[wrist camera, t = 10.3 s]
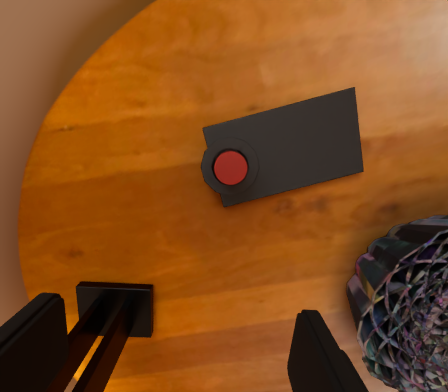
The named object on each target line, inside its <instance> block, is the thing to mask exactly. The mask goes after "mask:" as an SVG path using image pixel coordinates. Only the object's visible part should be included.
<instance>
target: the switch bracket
mask: <svg viewBox="0 0 448 392" xmlns="http://www.w3.org/2000/svg"><path fill="white" fill-rule="evenodd" d="M76 294H77V304H78V314H79V321H78V322H77V324H76V325H75V326H74V327H73V329H72V330H71V331H70V333H69V334H68V344H69V356H68V359H67V361H66V363H65V365H64V366H63V367H62V369H61V370H60V372H59V373H58V375H57V376H56V377H55V379H54V380H53V382H52V383H51V385H50V386H49V387H48V389H47V390H46V392H64V390H65V389H66V387H67V386H68V384H69V382H70V381H71V379H72V377H73V376H74V374H75V373H76V371H77V369H78V368H79V366H80V364H81V363H82V361H83V360H84V358H85V356H86V355H87V353H88V351H89V350H90V348H91V347H92V345H93V343H94V342H95V340H96V338H97V337H98V336H104V337H103V339H102V341H101V342H100V344H99V346H98V348H97V349H96V351H95V353H94V354H93V356H92V358H91V360H90V361H89V363H88V365H87V366H86V368H85V370H84V372H83V373H82V375H81V377H80V378H79V380H78V382H77V384H76V385H75V387H74V389H73V390H72V392H103V391H104V389H105V387H106V385H107V383H108V380H109V378H110V376H111V374H112V372H113V369H114V367H115V365H116V363H117V361H118V359H119V356H120V354H121V352H122V350H123V348H124V345H125V343H126V341H127V339H128V337H149V338H151V336H152V333H153V285H148V284H125V283H103V282H80V283H79V284H78V285H77V286H76Z"/></svg>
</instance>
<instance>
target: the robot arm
mask: <svg viewBox="0 0 448 392" xmlns="http://www.w3.org/2000/svg"><path fill="white" fill-rule="evenodd" d="M68 356H69V344H68V334H67V324H66V314H65V304H64V299H63V298H61V296H60V295H59V294H57V293H40V294H39V295H38V296H36V297H35V298H34V299H33V300H32V301H30V302H29V303H28V304H27V305H26V306H25V307H23V308H22V309H21V310H20V311H19V312H18V313H16V314H15V315H14V316H13V317H12V318H11V319H9V320H8V321H7V322H6V323H4V324H3V325H2V326H1V327H0V392H46V390H47V389H48V387H49V386H50V385H51V383H52V382H53V380H54V379H55V377H56V376H57V375H58V373H59V372H60V370H61V369H62V367H63V366H64V365H65V363H66V361H67V359H68ZM287 369H288V376H289V379H290V383H291V386H292V390H293V392H369V391H368V390H367V388H366V386H365V384H364V383H363V381H362V379H361V378H360V376H359V374H358V373H357V371H356V369H355V367H354V366H353V364H352V362H351V361H350V359H349V357H348V356H347V354H346V353H345V352H344V351H343V350H341V349H340V348H339V346H338V345H337V343H336V341H335V339H334V338H333V336H332V334H331V332H330V330H329V329H328V327H327V325H326V323H325V322H324V320H323V318H322V316H321V315H320V313H319V312H318V311H317V310H302V312H301V313H298V314H297V318H296V323H295V329H294V334H293V339H292V344H291V349H290V354H289V359H288V365H287Z"/></svg>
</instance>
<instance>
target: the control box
mask: <svg viewBox="0 0 448 392" xmlns="http://www.w3.org/2000/svg"><path fill="white" fill-rule="evenodd" d="M203 132H204V136H205V140H206V143H207V147H208V149H207V150H206V151H205V152H204V156H203V159H202V163H201V170H202V173H203V177H204V180H205V182H206V183H207V184H208V185H209V186H210V187H211V188H212V189H213V190H214V191H215V192H218V193H220V195H221V199H222V202H223V206H224V207H227V206H231V205H235V204H239V203H243V202H247V201H251V200H254V199H258V198H262V197H266V196H270V195H274V194H278V193H282V192H286V191H290V190H293V189H297V188H301V187H305V186H309V185H313V184H317V183H321V182H325V181H329V180H333V179H336V178H340V177H344V176H348V175H352V174H356V173H360V172H363V161H362V152H361V142H360V133H359V123H358V114H357V104H356V95H355V87H353V88H349V89H345V90H342V91H338V92H334V93H331V94H327V95H323V96H320V97H316V98H312V99H308V100H305V101H301V102H297V103H294V104H290V105H286V106H283V107H279V108H275V109H271V110H268V111H264V112H260V113H257V114H253V115H249V116H246V117H242V118H238V119H234V120H231V121H227V122H223V123H220V124H216V125H212V126H209V127H205V128H203ZM226 151H235V152H237V153H239V154H240V155H242V156H243V157H244V159H245V160H246V162H247V174H246V176H245V177H244V179H243V180H242V181H241V182H239V183H237V184H234V185H227V184H224V183H222V182H221V181H220V180H219V179H218V178H217V177H216V175H215V174H214V173H215V171H213V169H214V165H215V161H216V159H217V157H218V156H219V155H220V154H222V153H223V152H226ZM212 165H213V167H212Z"/></svg>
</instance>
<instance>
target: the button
mask: <svg viewBox="0 0 448 392" xmlns="http://www.w3.org/2000/svg"><path fill="white" fill-rule="evenodd" d="M214 171H215V175H216V177H217V178H218V179H219V180H220V181H221V182H222V183H224V184H227V185H234V184H237V183H239V182H241V181H242V180H243V179H244V177H245V176H246V174H247V162H246V160H245V159H244V157H243V156H242V155H240V154H239V153H237V152H235V151H226V152H223V153H222V154H220V155H219V156H218V157H217V159H216V161H215V165H214Z"/></svg>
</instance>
